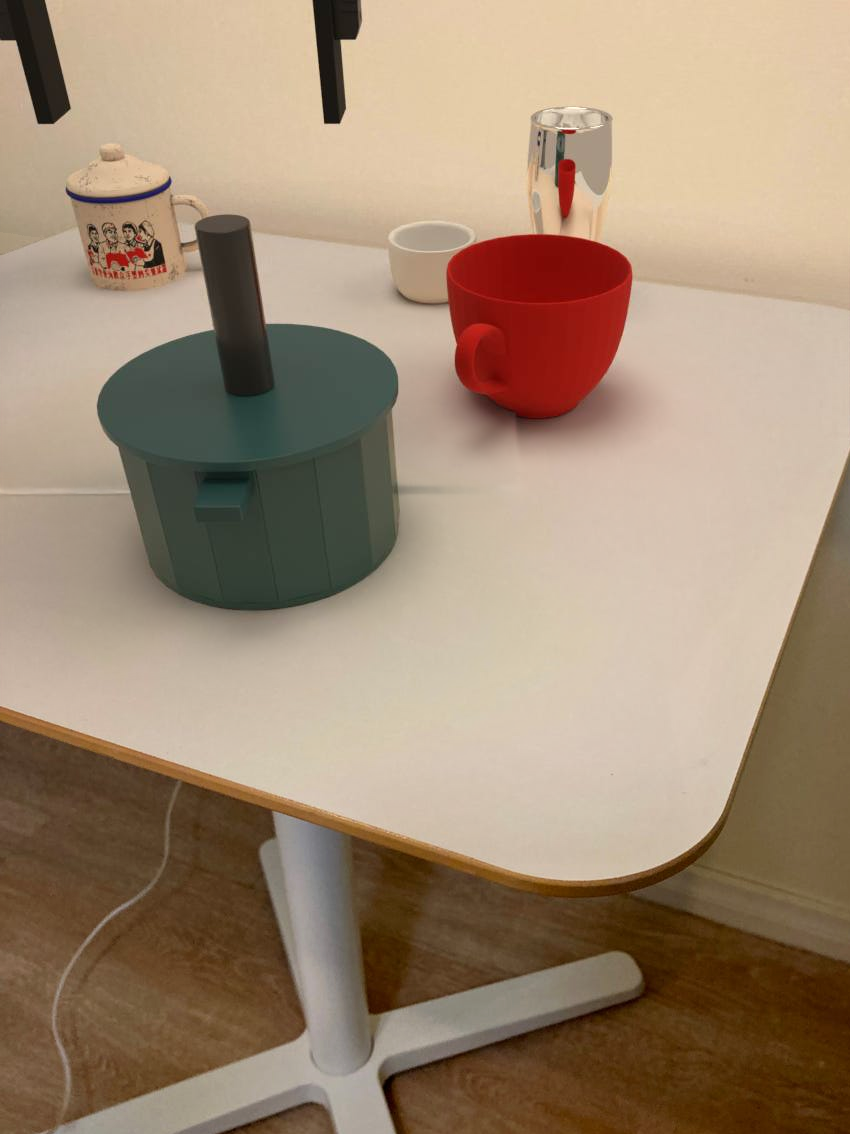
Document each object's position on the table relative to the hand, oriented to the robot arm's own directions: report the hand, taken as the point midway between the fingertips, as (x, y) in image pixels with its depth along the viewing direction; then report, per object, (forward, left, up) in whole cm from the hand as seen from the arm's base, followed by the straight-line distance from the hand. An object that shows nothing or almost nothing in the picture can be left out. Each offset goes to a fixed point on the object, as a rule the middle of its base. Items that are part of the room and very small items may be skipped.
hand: (195, 117), depth 50 cm
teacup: (+9, +38, -24) cm, 45 cm away
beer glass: (+21, +36, -24) cm, 48 cm away
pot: (+1, -1, -24) cm, 24 cm away
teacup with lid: (-17, +41, -24) cm, 51 cm away
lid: (+1, -1, -14) cm, 14 cm away
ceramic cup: (+17, +16, -24) cm, 33 cm away
